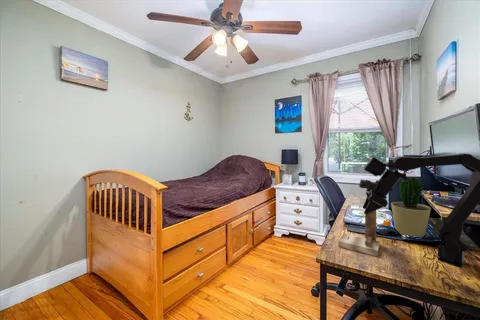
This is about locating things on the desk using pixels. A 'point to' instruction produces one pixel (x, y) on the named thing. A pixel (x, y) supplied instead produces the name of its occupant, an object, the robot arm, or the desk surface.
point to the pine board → (359, 244)
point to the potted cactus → (410, 209)
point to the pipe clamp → (386, 223)
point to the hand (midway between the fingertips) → (364, 210)
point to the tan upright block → (370, 227)
